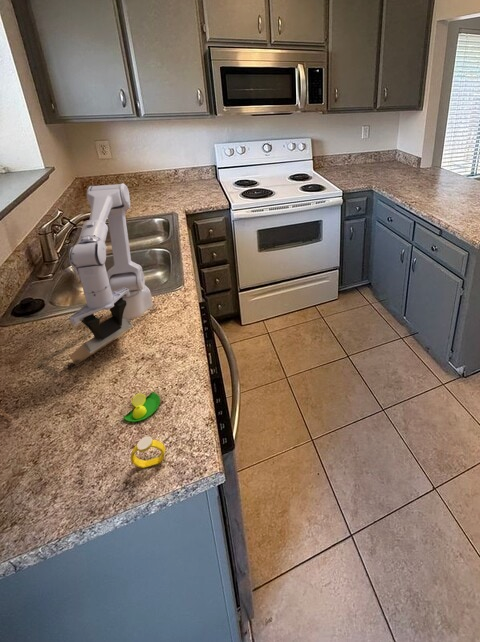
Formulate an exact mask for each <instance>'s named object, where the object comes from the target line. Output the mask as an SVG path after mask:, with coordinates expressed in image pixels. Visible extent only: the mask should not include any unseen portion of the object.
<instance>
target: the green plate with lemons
mask: <svg viewBox="0 0 480 642" xmlns="http://www.w3.org/2000/svg"><path fill="white" fill-rule="evenodd" d="M131 404H132V406H133V409H131V410H130V411H129V412H127V413H126V414H125V415H123V419H124V420H126V421H127V422H140V421H143V420H145V419H147V418H149V417H150V416H151V415H153V414H154V413H155V412H156V411H157V410H158V408H159V406H160V405H161V397H160V395H159V394H157V393H156V392H151V393H149V394H147V396H146V395H145V394H144V393H143V392H139V393H136V394H135V395H134V396H133V397H132V399H131Z"/></svg>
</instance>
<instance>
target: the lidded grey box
mask: <svg viewBox="0 0 480 642" xmlns="http://www.w3.org/2000/svg"><path fill="white" fill-rule="evenodd" d="M131 328H133V324H132V323H131V321H130V320H128V318H127V317H126V318H124V319H122V326H120V325H119V323H118V322H117V320H116V319H115V317H114V316H112V315H111V316H110V317H109V318H106V319H105V320H103V321H102V322H100V330H101V333H102V339H100V340H99V339H97V338H95V336H93V337H92V338H90V339H89V340H87V341H85V342H84V343H83V344H81V345H80V346H79V347H78V348H77V349H76V350H74V352H72V353H71V354H70V355H69V358H70V359H71V361H72V363H73V364H75V366H76V365H77V366H78V365H79V364H81V363H82V362H83V361H85V360H86V359H88V358H89V357H91V356H92V355H94V354H95V353H97V352H99V351H101V350H102V349H103V348H105V347H107V346H108V345H109V344H111V343H112V342H114V341H116V340H117V339H118V338H120V337H122V335H124V334H125V333H126V332H128V331H129V330H130V329H131Z"/></svg>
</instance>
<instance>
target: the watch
mask: <svg viewBox="0 0 480 642" xmlns="http://www.w3.org/2000/svg"><path fill="white" fill-rule="evenodd" d="M151 448H153V449H154V448H155V449H157V450H159V451H160V453H161V454H160V455H159V456H158V457H155V458H151V459H147V460H144V459H140V458H139V457H137V456H136V453H137V452H140V453H144V452H146V451H148V450H150V449H151ZM165 453H166V446H165V445H164V443H163V442H161V441H160V440H157V439H153V437H152V436H148V435H147V436H144V437H142V438H141V439H139V441H137V444H136V445H135V446H133V449H132V451H131V454H130V461H131V464H133V465H134V466H136V467H137V468H141V469H146V468H148V467H153V466H156V465H160V463H162V461H163V460H164V457H165Z"/></svg>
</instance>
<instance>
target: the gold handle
mask: <svg viewBox="0 0 480 642" xmlns="http://www.w3.org/2000/svg"><path fill="white" fill-rule="evenodd" d="M75 366H76V364H75V363H74V362H72V363H70V364H68V365H67V367H68V368H69V369H72V368H73V367H75Z"/></svg>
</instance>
